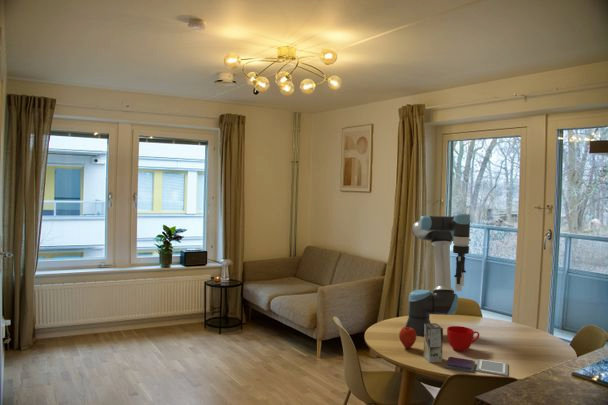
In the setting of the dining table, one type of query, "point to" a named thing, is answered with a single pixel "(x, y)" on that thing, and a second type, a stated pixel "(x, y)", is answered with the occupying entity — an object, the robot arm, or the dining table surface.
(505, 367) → the marked board
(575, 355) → the dining table surface
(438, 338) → the coffee box
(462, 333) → the ceramic cup
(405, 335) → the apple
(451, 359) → the ink pad
